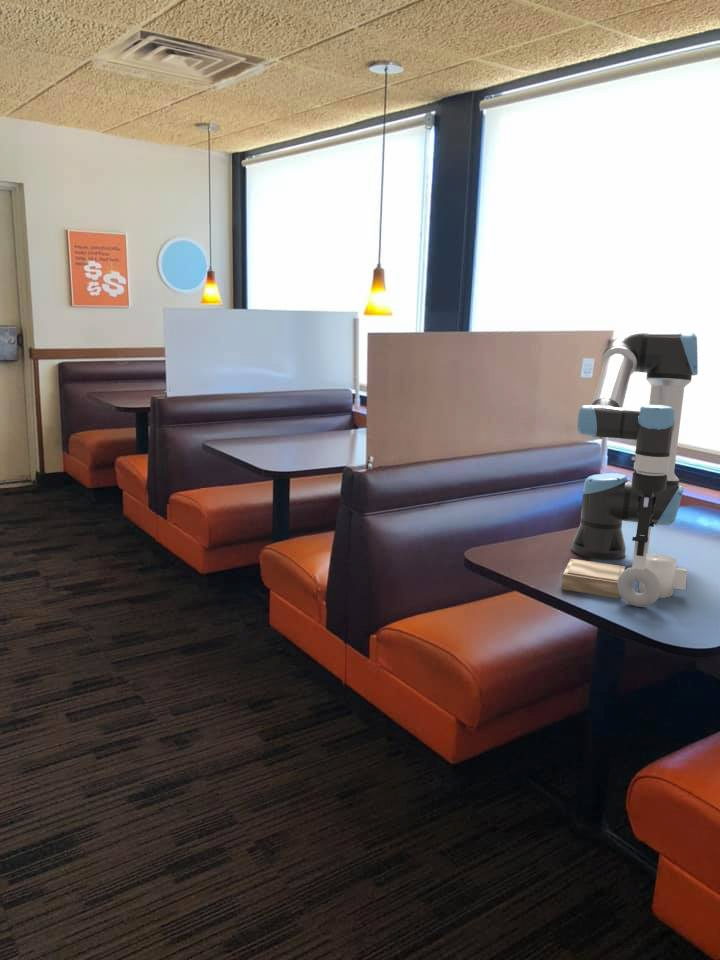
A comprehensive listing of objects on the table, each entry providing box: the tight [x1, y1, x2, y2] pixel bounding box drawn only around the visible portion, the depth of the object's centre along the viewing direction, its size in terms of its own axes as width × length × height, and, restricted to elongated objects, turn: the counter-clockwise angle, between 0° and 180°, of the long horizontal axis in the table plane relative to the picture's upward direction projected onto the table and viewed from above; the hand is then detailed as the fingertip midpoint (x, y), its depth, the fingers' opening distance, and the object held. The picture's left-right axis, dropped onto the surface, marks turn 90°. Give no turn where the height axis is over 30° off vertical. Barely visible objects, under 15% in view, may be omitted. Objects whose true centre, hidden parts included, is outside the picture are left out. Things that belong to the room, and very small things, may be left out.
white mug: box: [638, 552, 688, 599], centre depth 192 cm, size 8×11×9 cm
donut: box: [617, 566, 661, 608], centre depth 182 cm, size 10×4×10 cm, turn 56°
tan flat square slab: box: [561, 558, 626, 599], centre depth 197 cm, size 14×14×4 cm
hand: (640, 560), depth 180 cm, fingers open, 13 cm apart
